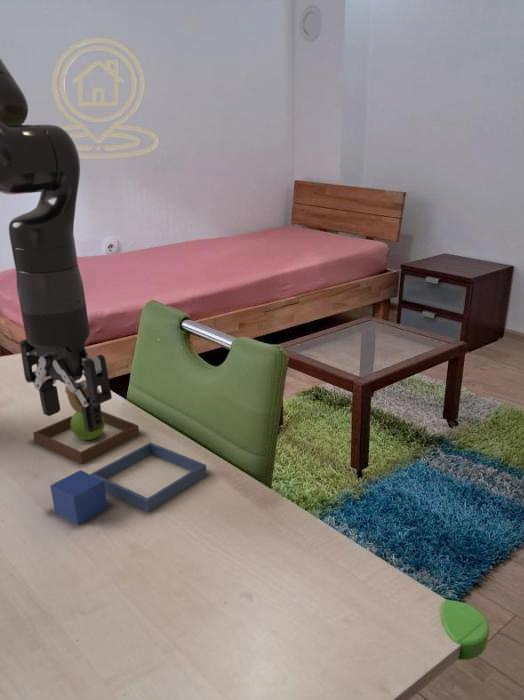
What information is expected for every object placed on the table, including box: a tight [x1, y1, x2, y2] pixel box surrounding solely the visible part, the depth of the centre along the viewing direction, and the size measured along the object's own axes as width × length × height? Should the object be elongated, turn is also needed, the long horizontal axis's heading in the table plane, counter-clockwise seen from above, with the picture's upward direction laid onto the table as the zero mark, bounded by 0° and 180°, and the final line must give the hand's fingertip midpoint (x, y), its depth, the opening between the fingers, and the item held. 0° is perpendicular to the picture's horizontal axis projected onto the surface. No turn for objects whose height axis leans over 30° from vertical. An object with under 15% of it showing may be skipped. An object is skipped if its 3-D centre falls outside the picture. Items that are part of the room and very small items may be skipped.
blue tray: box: [90, 442, 207, 513], centre depth 95 cm, size 12×12×2 cm
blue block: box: [50, 469, 108, 526], centre depth 87 cm, size 5×5×5 cm
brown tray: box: [32, 410, 140, 465], centre depth 106 cm, size 12×12×2 cm
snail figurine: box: [64, 379, 106, 441], centre depth 104 cm, size 5×6×12 cm
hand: (72, 421), depth 84 cm, fingers open, 8 cm apart
